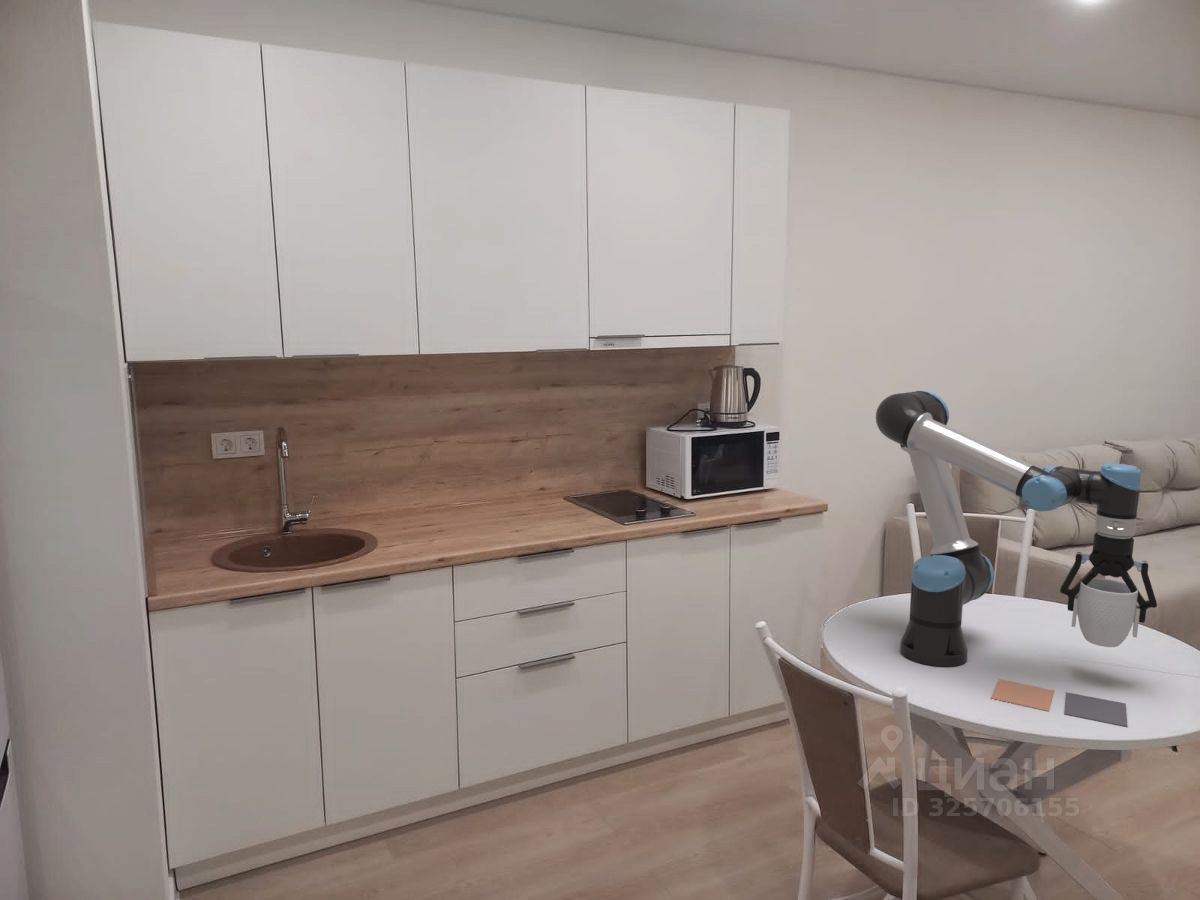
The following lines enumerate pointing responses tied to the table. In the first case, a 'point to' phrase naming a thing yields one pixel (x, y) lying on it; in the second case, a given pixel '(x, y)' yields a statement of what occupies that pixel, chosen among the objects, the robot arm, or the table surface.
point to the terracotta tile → (1023, 695)
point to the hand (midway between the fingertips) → (1103, 630)
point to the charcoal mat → (1096, 709)
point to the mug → (1106, 611)
